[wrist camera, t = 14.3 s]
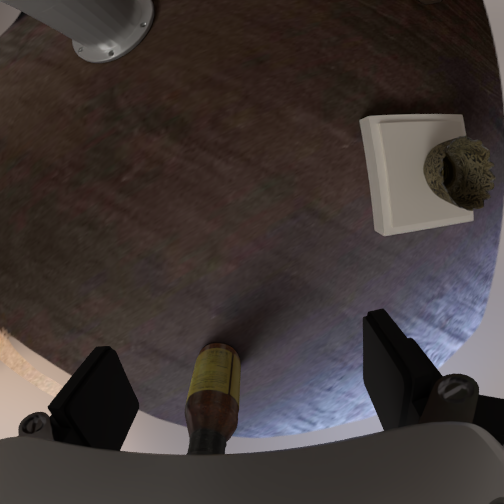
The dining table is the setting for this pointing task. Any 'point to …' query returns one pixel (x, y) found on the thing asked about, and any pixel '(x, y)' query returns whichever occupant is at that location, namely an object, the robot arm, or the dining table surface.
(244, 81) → the dining table surface
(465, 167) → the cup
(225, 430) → the sauce bottle
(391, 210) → the pedestal
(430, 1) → the beer bottle
